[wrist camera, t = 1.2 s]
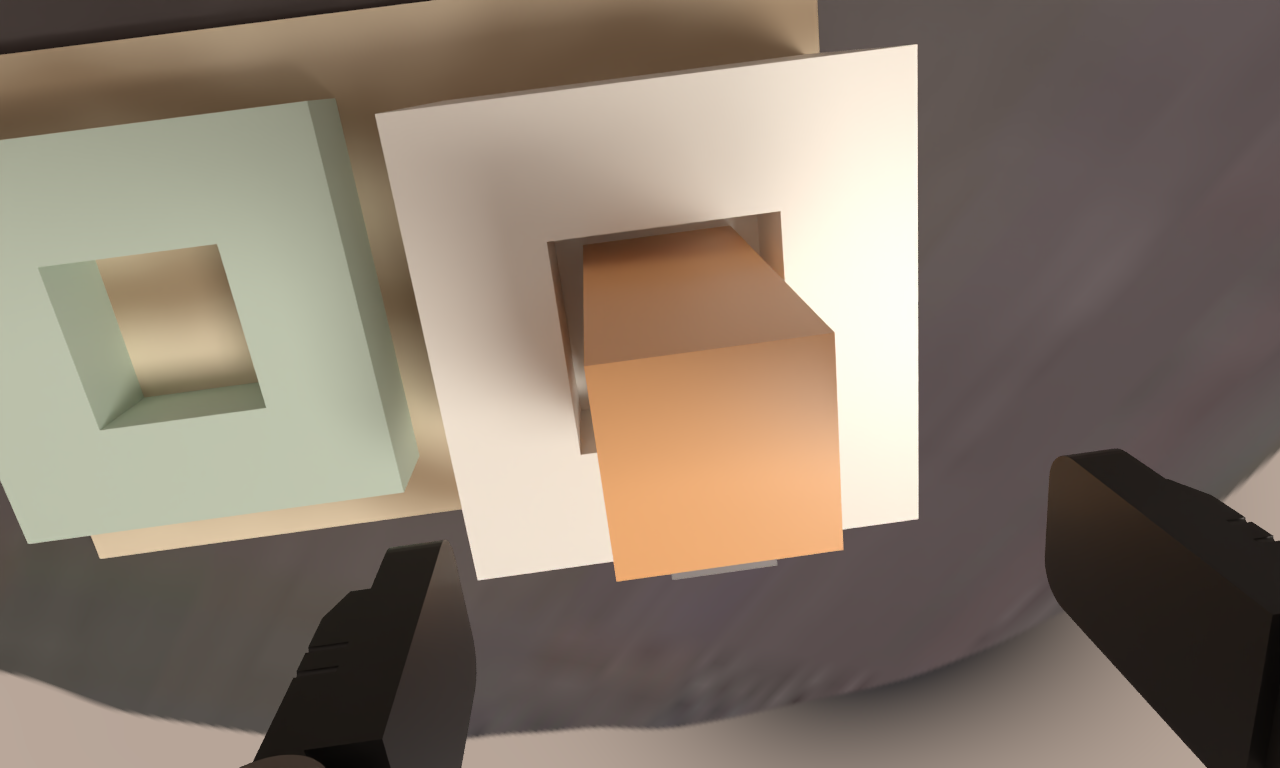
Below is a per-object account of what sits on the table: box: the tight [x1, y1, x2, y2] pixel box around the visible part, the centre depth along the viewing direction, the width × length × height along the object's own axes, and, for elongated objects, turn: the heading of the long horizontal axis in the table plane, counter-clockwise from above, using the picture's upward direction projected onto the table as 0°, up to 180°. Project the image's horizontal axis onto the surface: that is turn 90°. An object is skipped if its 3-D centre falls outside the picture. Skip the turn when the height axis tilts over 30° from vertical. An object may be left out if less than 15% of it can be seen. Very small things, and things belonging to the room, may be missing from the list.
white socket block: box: [375, 44, 918, 580], centre depth 25 cm, size 12×12×10 cm
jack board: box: [0, 0, 819, 559], centre depth 30 cm, size 18×29×1 cm, turn 97°
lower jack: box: [0, 98, 419, 544], centre depth 28 cm, size 13×13×3 cm
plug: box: [583, 226, 843, 581], centre depth 19 cm, size 5×4×10 cm
